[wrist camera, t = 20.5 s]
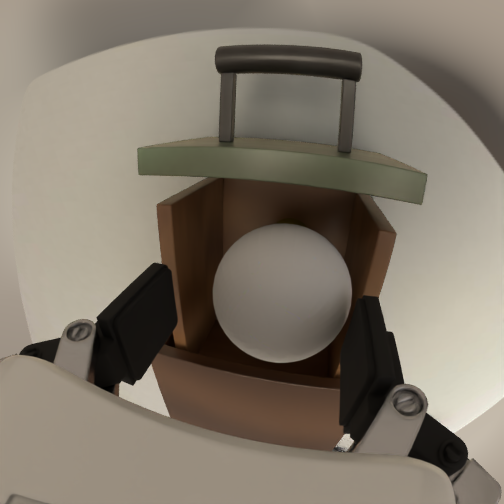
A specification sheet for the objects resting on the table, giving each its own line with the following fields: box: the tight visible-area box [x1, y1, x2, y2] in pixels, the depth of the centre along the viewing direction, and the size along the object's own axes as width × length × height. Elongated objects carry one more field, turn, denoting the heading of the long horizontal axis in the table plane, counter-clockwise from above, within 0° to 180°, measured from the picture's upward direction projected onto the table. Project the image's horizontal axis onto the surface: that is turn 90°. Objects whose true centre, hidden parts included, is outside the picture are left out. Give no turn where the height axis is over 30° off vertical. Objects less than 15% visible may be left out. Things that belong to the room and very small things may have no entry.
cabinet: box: [151, 332, 345, 451], centre depth 21 cm, size 15×13×10 cm
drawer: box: [137, 45, 427, 379], centre depth 15 cm, size 18×11×8 cm, turn 178°
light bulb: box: [213, 218, 352, 363], centre depth 13 cm, size 6×6×10 cm
